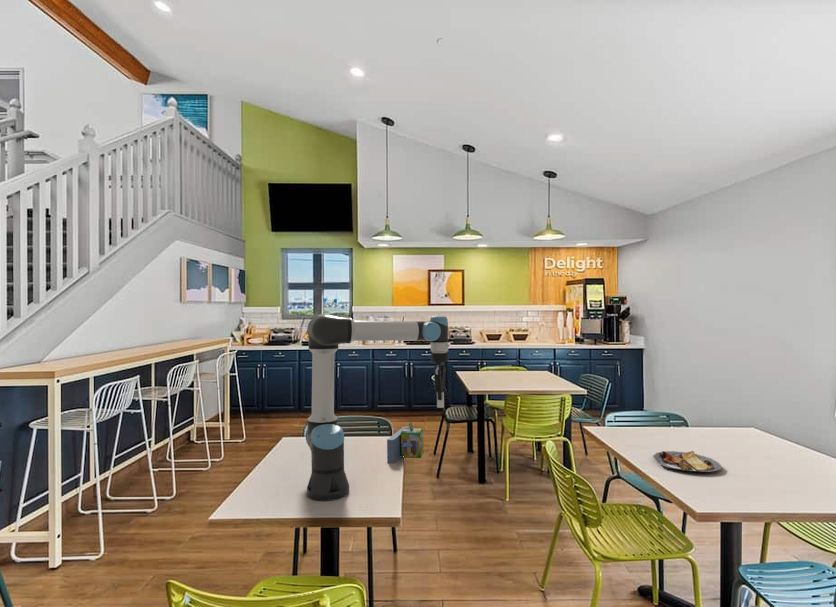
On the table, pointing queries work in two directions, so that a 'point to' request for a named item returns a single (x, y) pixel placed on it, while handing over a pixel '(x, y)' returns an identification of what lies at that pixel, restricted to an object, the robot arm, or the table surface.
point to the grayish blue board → (394, 446)
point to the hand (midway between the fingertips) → (440, 407)
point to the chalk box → (412, 442)
